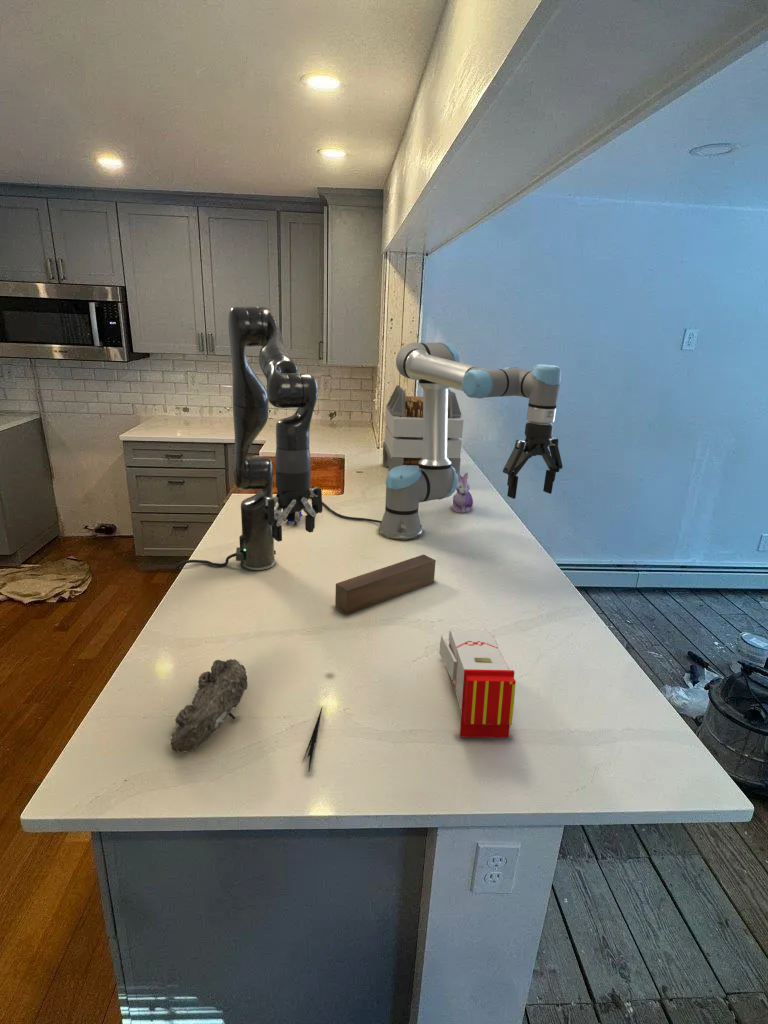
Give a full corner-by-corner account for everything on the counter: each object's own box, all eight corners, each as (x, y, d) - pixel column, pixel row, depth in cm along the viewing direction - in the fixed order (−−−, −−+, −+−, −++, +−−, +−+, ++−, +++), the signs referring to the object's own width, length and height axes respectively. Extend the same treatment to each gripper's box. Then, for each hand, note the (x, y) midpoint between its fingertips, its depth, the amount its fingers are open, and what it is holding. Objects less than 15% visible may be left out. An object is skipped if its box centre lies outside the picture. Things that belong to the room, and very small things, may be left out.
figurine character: (300, 531, 202) (304, 512, 215) (299, 512, 198) (304, 494, 212) (281, 530, 201) (287, 511, 215) (280, 511, 198) (286, 493, 211)
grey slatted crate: (381, 463, 289) (385, 382, 275) (444, 464, 292) (450, 384, 279) (389, 482, 257) (393, 392, 243) (459, 483, 261) (467, 394, 247)
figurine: (459, 514, 221) (463, 477, 216) (445, 506, 229) (448, 470, 224) (479, 511, 225) (483, 475, 220) (464, 503, 234) (467, 468, 228)
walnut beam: (335, 607, 149) (335, 583, 147) (422, 575, 169) (423, 554, 167) (346, 615, 146) (347, 590, 144) (434, 581, 166) (435, 560, 163)
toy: (489, 613, 130) (525, 677, 101) (485, 667, 133) (518, 744, 104) (437, 612, 130) (457, 676, 101) (434, 666, 133) (453, 743, 103)
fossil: (195, 660, 117) (247, 628, 112) (227, 691, 120) (279, 661, 115) (146, 746, 98) (206, 711, 93) (185, 779, 101) (245, 748, 96)
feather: (331, 679, 122) (336, 673, 122) (307, 777, 96) (313, 769, 95) (324, 675, 122) (329, 669, 121) (298, 772, 95) (304, 764, 95)
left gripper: (309, 458, 130) (309, 524, 136) (255, 468, 121) (257, 538, 127) (329, 465, 125) (328, 533, 131) (274, 476, 116) (276, 549, 122)
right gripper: (513, 427, 149) (504, 503, 156) (582, 422, 160) (570, 494, 167) (495, 421, 155) (487, 495, 162) (563, 417, 166) (552, 486, 174)
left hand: (293, 535), depth 129 cm, fingers open, 8 cm apart
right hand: (529, 494), depth 165 cm, fingers open, 13 cm apart
